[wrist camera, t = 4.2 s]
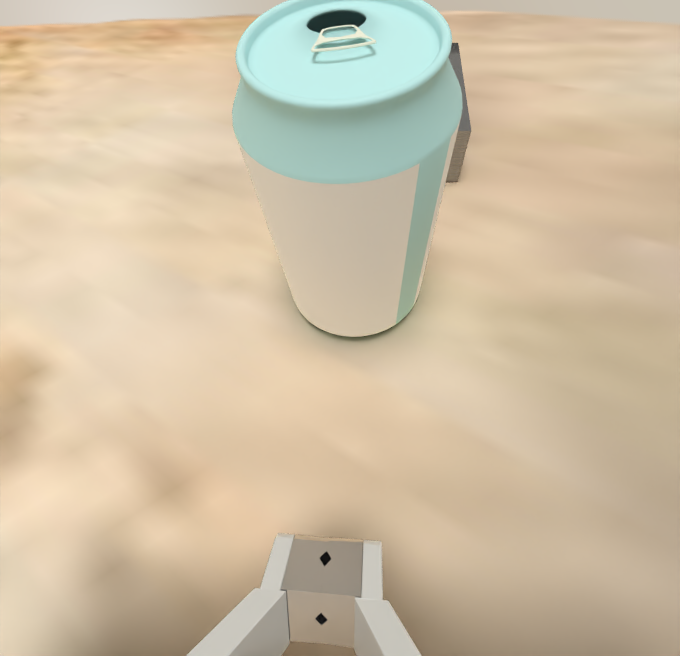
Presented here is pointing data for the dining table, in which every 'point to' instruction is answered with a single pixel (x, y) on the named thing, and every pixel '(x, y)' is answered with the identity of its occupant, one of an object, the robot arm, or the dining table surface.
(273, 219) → the can
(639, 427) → the dining table surface
